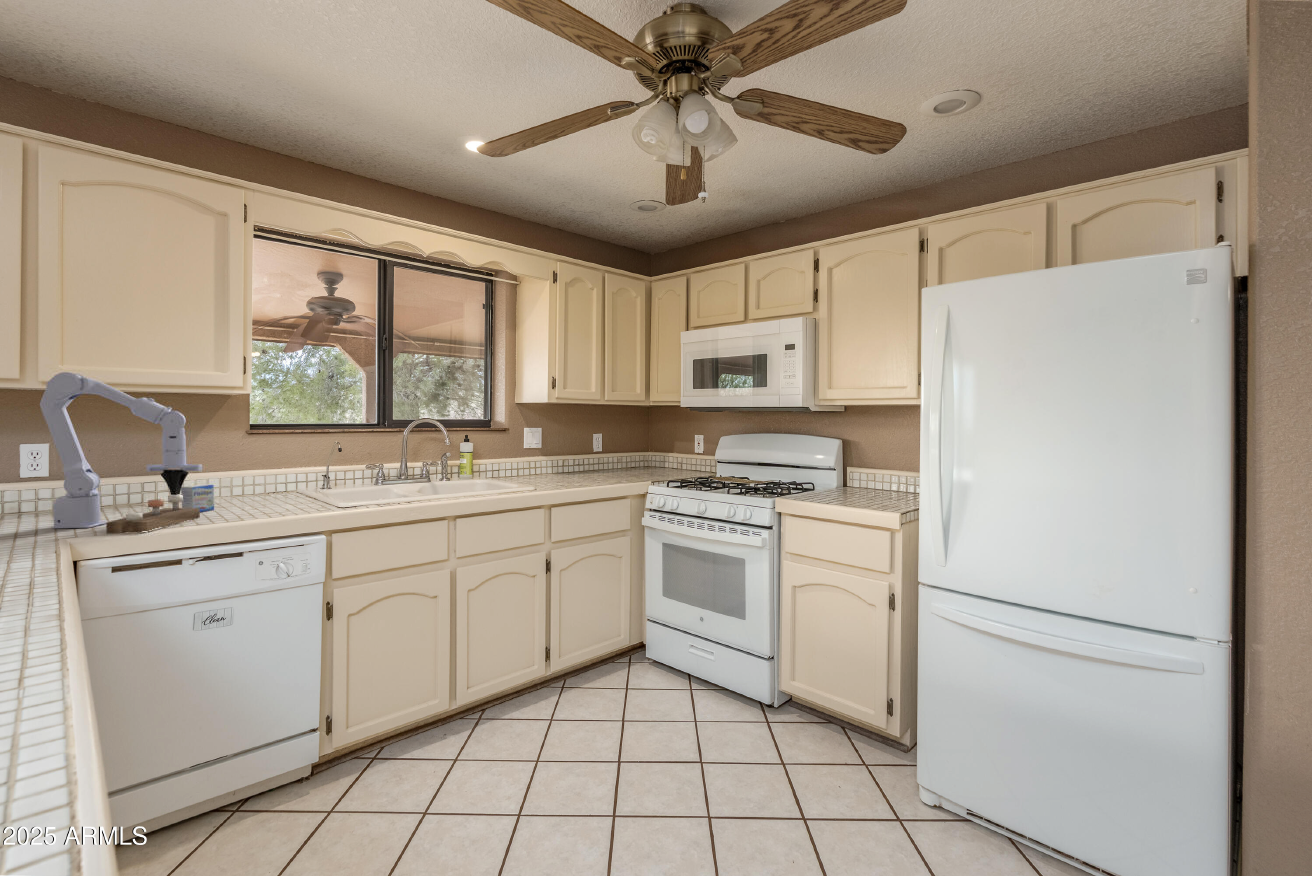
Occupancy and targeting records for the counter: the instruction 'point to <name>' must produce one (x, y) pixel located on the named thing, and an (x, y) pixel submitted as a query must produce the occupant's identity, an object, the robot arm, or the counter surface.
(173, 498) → the knob
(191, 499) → the medicine box
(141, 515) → the knob
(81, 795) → the counter surface
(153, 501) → the knob middle
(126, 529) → the rack
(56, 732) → the counter surface
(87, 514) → the robot arm
